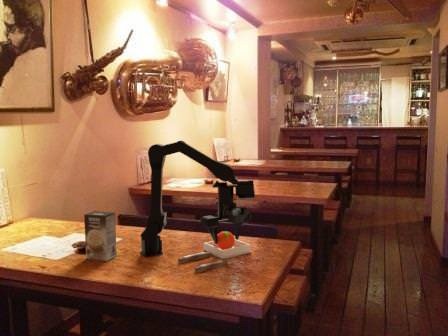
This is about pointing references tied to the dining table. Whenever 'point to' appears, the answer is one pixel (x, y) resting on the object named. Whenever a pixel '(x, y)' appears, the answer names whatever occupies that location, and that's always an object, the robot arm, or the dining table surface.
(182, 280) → the dining table surface
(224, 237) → the clementine
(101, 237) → the coffee box
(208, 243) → the bin
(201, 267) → the cradle
